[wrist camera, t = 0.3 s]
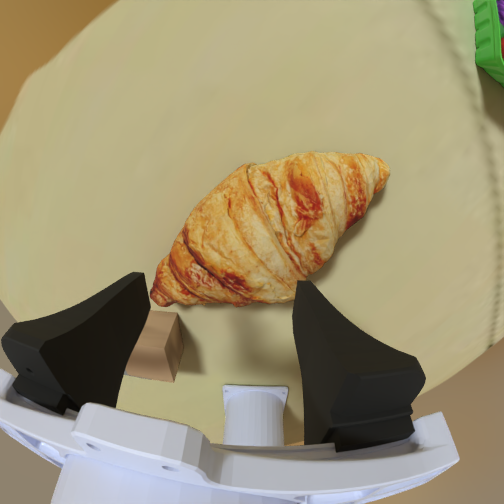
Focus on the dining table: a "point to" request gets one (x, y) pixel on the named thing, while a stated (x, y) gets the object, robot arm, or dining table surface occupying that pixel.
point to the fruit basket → (490, 37)
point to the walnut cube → (157, 348)
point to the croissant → (267, 229)
